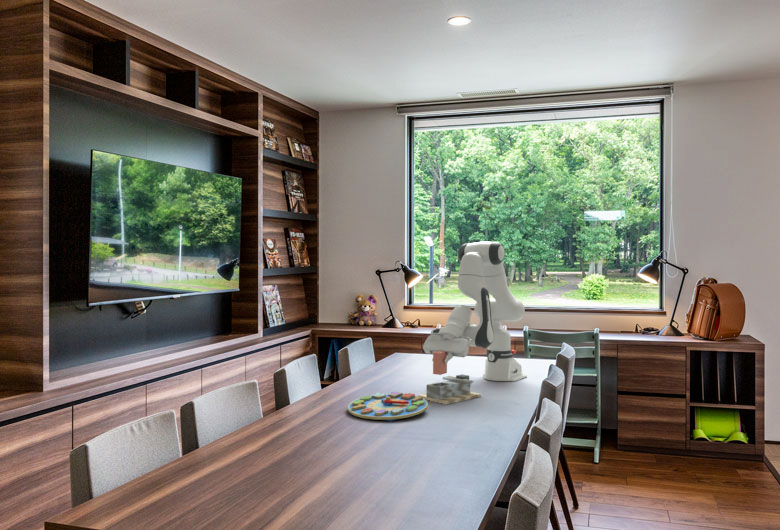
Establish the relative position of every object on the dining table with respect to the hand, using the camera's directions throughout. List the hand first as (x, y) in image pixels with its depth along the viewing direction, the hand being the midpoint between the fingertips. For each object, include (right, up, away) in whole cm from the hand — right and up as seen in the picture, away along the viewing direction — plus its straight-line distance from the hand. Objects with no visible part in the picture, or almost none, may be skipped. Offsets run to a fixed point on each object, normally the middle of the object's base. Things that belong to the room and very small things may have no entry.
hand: (439, 362), depth 262 cm
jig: (+5, -16, +5) cm, 17 cm away
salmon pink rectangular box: (0, -5, +1) cm, 5 cm away
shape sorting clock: (-21, -16, -20) cm, 33 cm away
